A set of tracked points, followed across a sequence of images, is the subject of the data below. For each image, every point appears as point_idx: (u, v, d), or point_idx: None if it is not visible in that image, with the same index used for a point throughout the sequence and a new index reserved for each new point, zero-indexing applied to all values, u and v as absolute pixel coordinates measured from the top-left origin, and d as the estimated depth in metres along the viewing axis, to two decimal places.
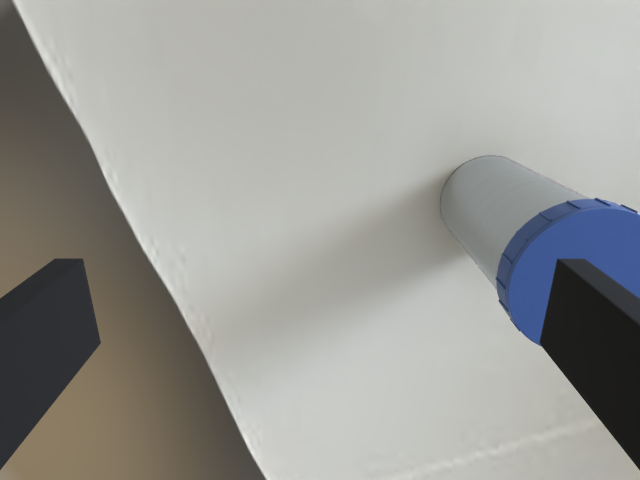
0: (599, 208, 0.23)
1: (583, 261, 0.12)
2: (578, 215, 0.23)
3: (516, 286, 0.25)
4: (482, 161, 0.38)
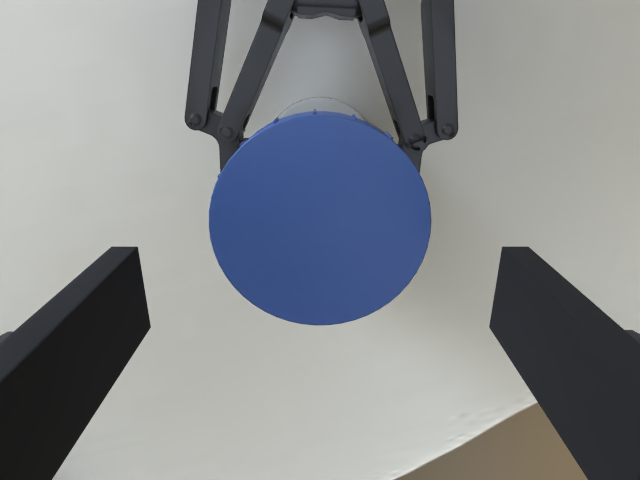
0: (221, 267, 0.19)
1: (526, 249, 0.13)
2: (238, 286, 0.19)
3: (348, 313, 0.19)
4: None
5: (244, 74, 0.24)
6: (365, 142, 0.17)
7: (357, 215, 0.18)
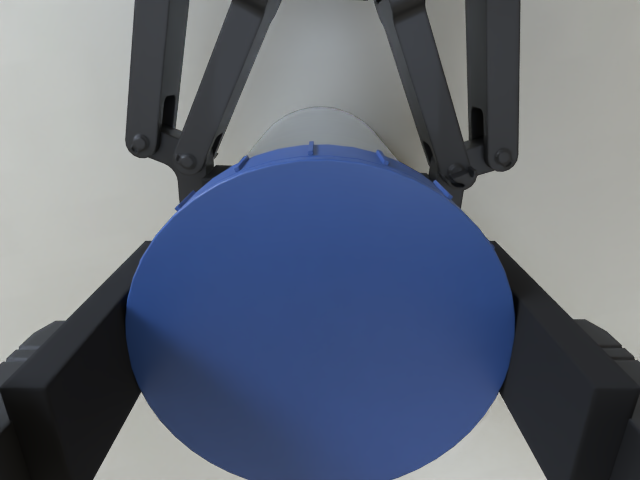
0: (153, 407, 0.11)
1: (492, 243, 0.13)
2: (183, 436, 0.11)
3: (367, 475, 0.12)
4: None
5: (209, 78, 0.17)
6: (404, 207, 0.09)
7: (386, 328, 0.10)
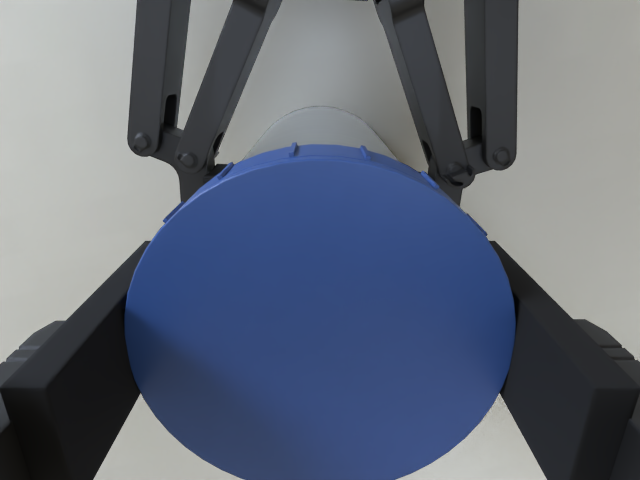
0: None
1: (492, 243, 0.13)
2: None
3: (491, 370, 0.10)
4: None
5: (211, 77, 0.17)
6: (200, 229, 0.09)
7: (323, 289, 0.10)
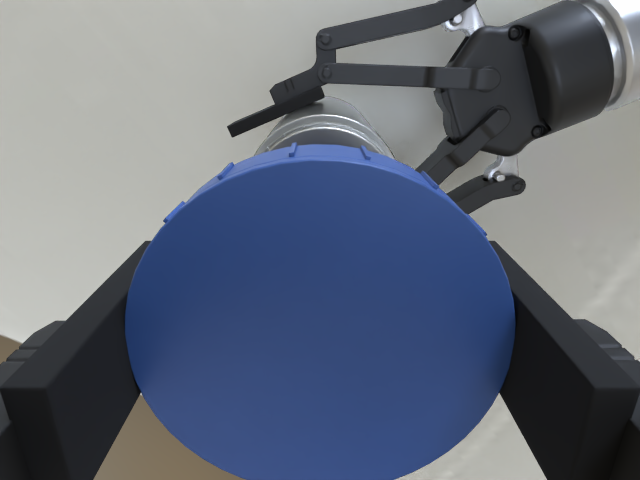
0: None
1: (492, 243, 0.13)
2: None
3: (491, 370, 0.10)
4: None
5: (380, 69, 0.28)
6: (200, 229, 0.09)
7: (323, 289, 0.10)
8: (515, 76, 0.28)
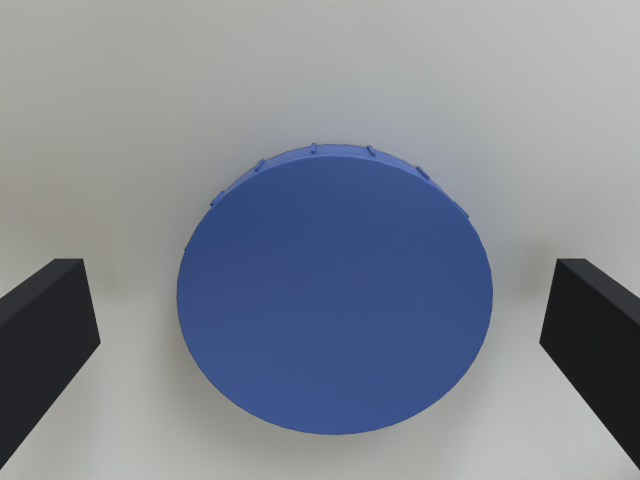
0: (325, 432, 0.14)
1: (583, 261, 0.12)
2: (359, 428, 0.14)
3: (473, 328, 0.13)
4: None
5: None
6: (241, 210, 0.12)
7: (337, 260, 0.12)
8: None
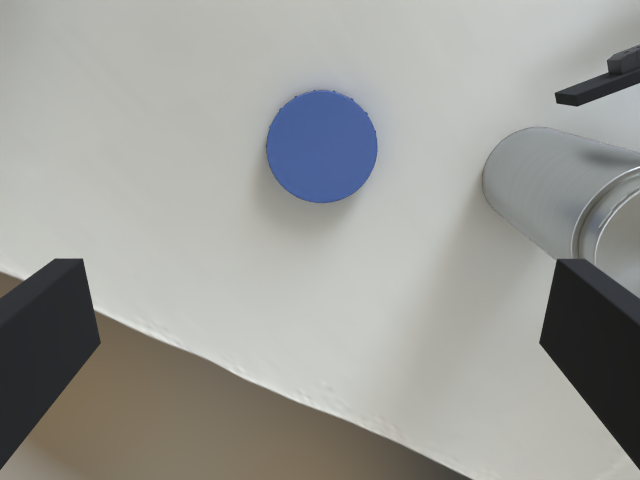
0: (319, 202, 0.38)
1: (583, 261, 0.12)
2: (332, 200, 0.38)
3: (371, 156, 0.36)
4: (498, 155, 0.37)
5: None
6: (290, 110, 0.35)
7: (322, 129, 0.36)
8: None
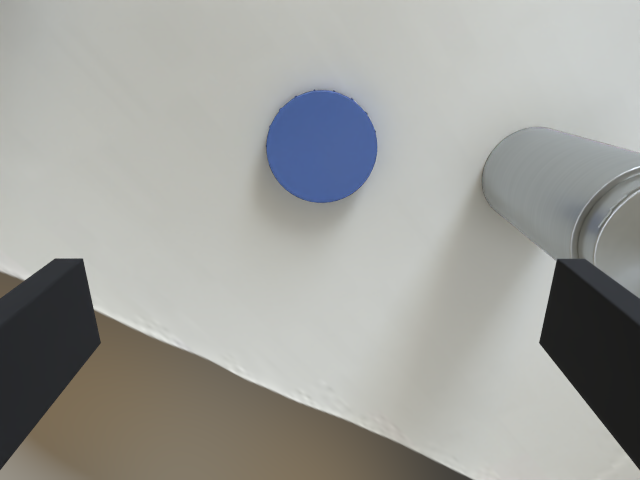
0: (319, 202, 0.38)
1: (583, 261, 0.12)
2: (331, 199, 0.38)
3: (371, 155, 0.36)
4: (498, 154, 0.37)
5: None
6: (290, 110, 0.35)
7: (322, 129, 0.36)
8: None
